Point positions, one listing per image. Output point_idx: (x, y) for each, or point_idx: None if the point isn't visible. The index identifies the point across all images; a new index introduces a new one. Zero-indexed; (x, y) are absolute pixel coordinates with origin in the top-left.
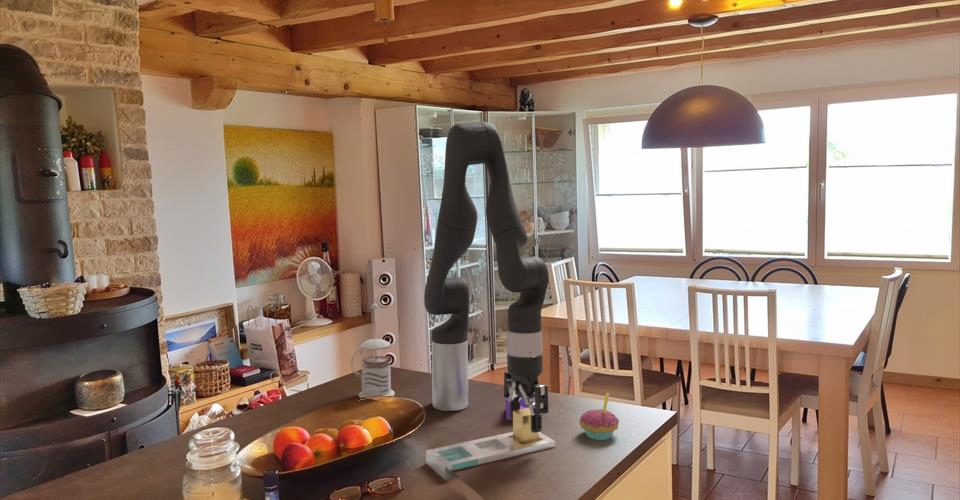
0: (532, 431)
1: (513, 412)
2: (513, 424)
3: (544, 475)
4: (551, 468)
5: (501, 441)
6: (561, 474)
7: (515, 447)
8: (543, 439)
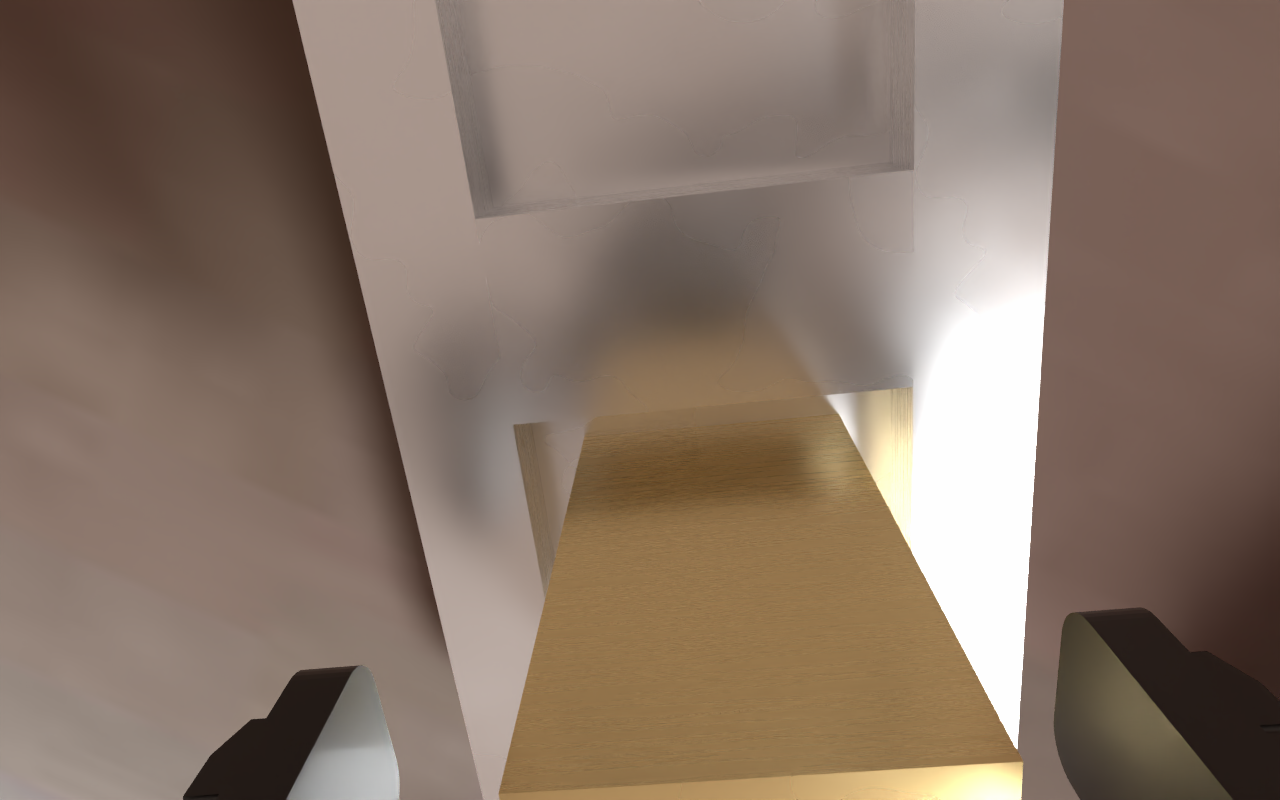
0: (299, 671)
1: (978, 732)
2: (892, 551)
3: (6, 381)
4: (167, 520)
5: (765, 201)
6: (7, 541)
7: (452, 304)
8: None
